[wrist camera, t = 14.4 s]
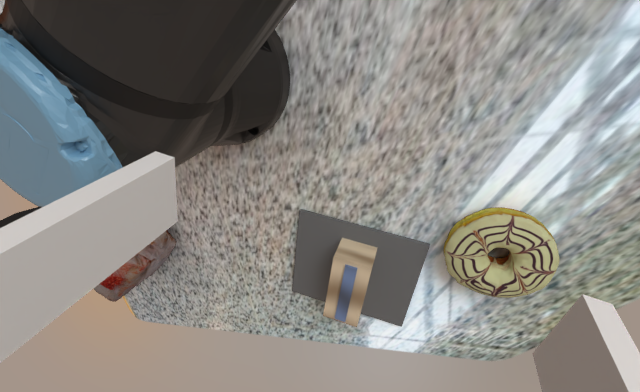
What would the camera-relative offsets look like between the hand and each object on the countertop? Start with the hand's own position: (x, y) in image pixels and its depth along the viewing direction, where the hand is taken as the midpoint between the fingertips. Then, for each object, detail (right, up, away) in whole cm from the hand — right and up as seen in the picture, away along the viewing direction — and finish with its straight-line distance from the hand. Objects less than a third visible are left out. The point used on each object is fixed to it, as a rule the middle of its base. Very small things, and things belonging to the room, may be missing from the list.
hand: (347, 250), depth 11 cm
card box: (+3, -8, +34) cm, 35 cm away
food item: (-28, -6, +45) cm, 53 cm away
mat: (+3, -8, +34) cm, 35 cm away
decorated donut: (+18, -3, +27) cm, 33 cm away
